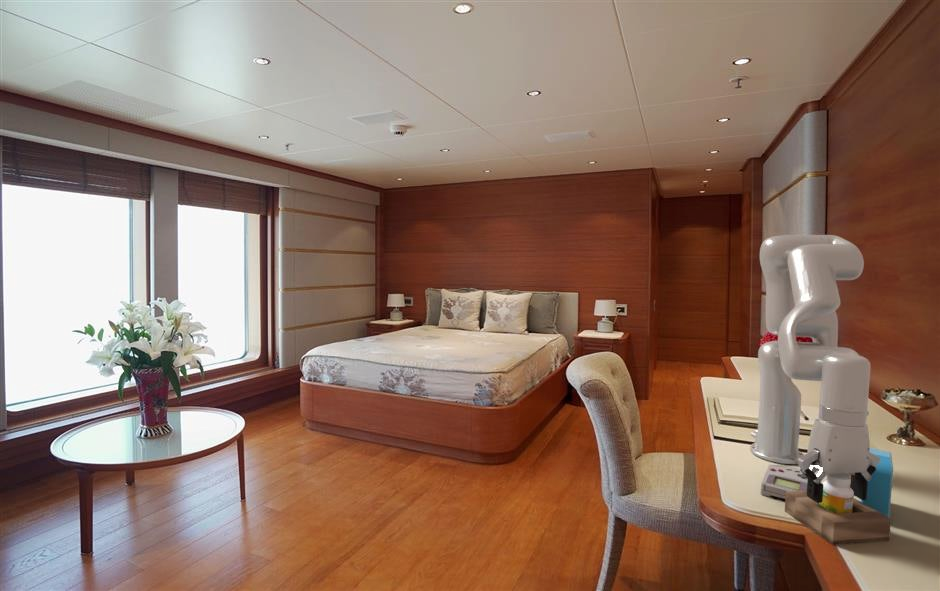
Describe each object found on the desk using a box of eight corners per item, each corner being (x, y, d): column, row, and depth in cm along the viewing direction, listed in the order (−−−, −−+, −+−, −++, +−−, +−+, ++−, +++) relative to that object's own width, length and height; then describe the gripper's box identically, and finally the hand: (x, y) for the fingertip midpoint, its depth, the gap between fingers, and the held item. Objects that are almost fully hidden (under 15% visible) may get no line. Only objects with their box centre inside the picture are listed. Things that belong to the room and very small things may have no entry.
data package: (860, 495, 110) (864, 444, 109) (886, 502, 108) (890, 450, 106) (860, 517, 101) (864, 462, 100) (888, 525, 98) (893, 468, 97)
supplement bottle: (811, 516, 100) (815, 471, 99) (829, 512, 102) (834, 467, 101) (838, 530, 95) (843, 483, 94) (857, 526, 96) (862, 479, 95)
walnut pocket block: (784, 511, 103) (785, 491, 103) (835, 508, 105) (836, 488, 104) (832, 544, 91) (834, 522, 91) (889, 540, 93) (890, 518, 92)
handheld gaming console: (814, 470, 116) (809, 494, 104) (813, 484, 116) (808, 510, 105) (770, 460, 122) (760, 482, 110) (769, 473, 122) (759, 496, 110)
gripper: (863, 408, 101) (857, 487, 102) (787, 411, 99) (782, 491, 100) (899, 420, 93) (892, 505, 95) (818, 424, 91) (812, 510, 93)
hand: (836, 498), depth 98 cm, fingers open, 9 cm apart
